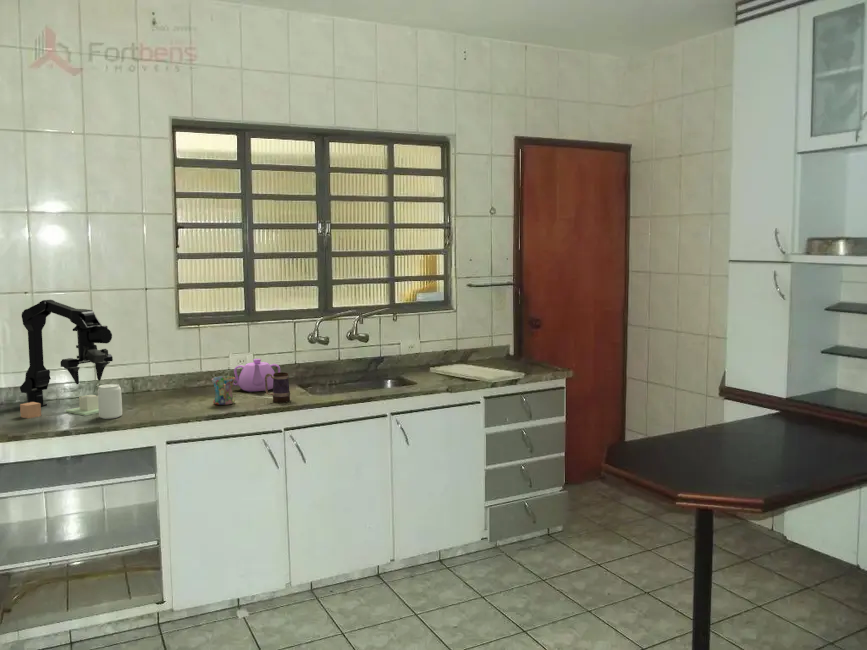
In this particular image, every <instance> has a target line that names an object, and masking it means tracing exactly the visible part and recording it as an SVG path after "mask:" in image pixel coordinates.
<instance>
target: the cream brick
mask: <svg viewBox="0 0 867 650" xmlns="http://www.w3.org/2000/svg"><path fill="white" fill-rule="evenodd" d="M78 399H79V402H78V404H79V407H80V410H85V411H90V410H94V409H99V407H98V395H96V394H87V395H81V396H79V397H78Z"/></svg>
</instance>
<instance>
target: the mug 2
mask: <svg viewBox="0 0 867 650" xmlns="http://www.w3.org/2000/svg"><path fill="white" fill-rule="evenodd" d="M269 376H271V378H273V389H272V393H269V390H268V388H267V378H268V377H269ZM289 379H290V376H289V373H288V372H283V371H280V373H278V372H275V373H274V375H273V376H272V375H271V374H267V375H266V376H265V388H266V391H265V394H266V395H268V396H272V402H273V403H277V404H280V403H282V404H283V402H285V403H288V402H290V401H291V391H290V382H289V381H290V380H289Z"/></svg>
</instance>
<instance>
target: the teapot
mask: <svg viewBox="0 0 867 650" xmlns="http://www.w3.org/2000/svg"><path fill="white" fill-rule="evenodd" d="M252 360H253V362H248V363H246V364H245V365H241V364H239V365H236V366H235V367H234V369H233V373H234V376H235V380H234V383H233V386H238V387H239V388H240V389H241V390H242V391H245V392H248V393H249V392H250V393H251V392H266V388H265V376H266V375H267V374H271V375H272V376H273V375H274V373H276V372H275V370H274V368H273V367H277V373H280V372H282V369H281V367H280V365H279V364H277V363H271V364H270V363H269V362H266V361H262V359H261V358H254V359H252ZM239 368H240V369H241V368H242V369H241V371H240V374H239V376H238V372H237V371H238V370H237V369H239ZM267 388H268V391H269V390H273V378H271V376H269V377H268V378H267Z"/></svg>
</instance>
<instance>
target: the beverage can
mask: <svg viewBox="0 0 867 650" xmlns="http://www.w3.org/2000/svg"><path fill="white" fill-rule="evenodd" d="M97 396H98V407H99V413H98V417H99V418H100V419H104V420H109V419H111V420H112V419H116V418H117V419H118V418H120V417H121V416H122V415H123V402H122V401H123V400H122V388H121V386H120V384H119V383H108V384H106V383H105V384H101V385H98V389H97Z"/></svg>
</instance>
